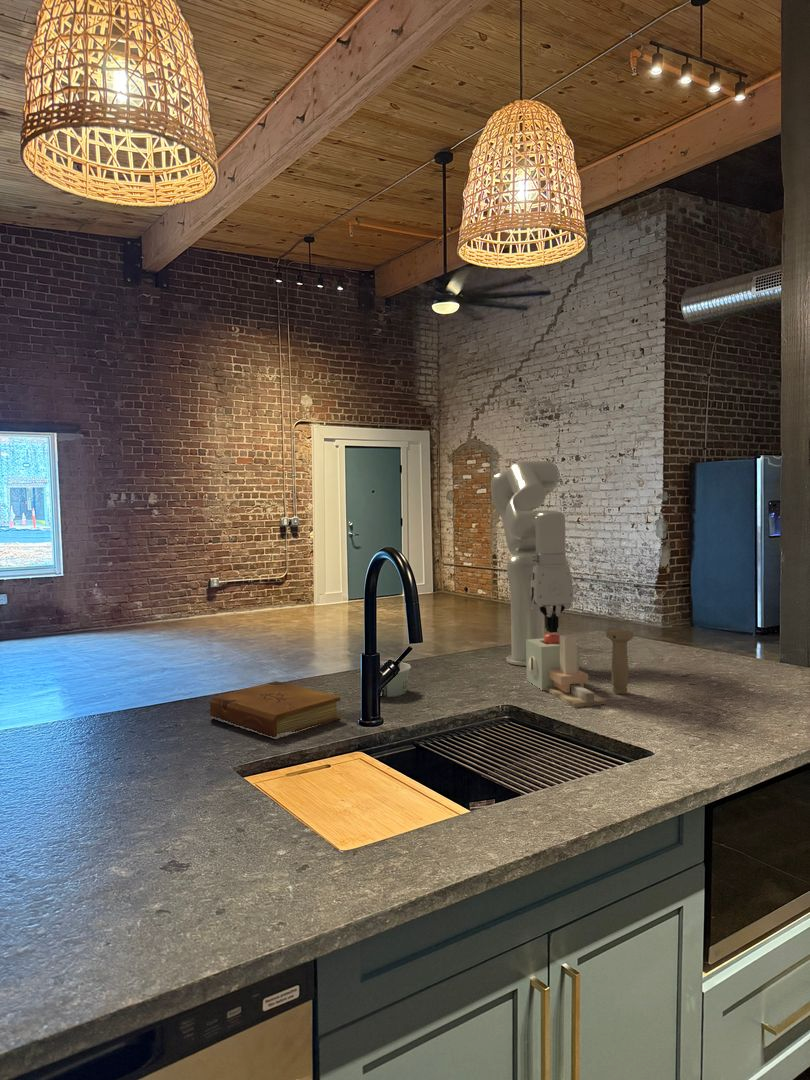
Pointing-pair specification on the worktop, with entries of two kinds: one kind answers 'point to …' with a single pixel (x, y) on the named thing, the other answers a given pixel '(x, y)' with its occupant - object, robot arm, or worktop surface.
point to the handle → (619, 659)
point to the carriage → (568, 666)
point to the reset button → (551, 638)
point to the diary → (275, 708)
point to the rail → (577, 696)
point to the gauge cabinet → (543, 662)
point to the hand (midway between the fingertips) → (551, 631)
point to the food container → (397, 682)
